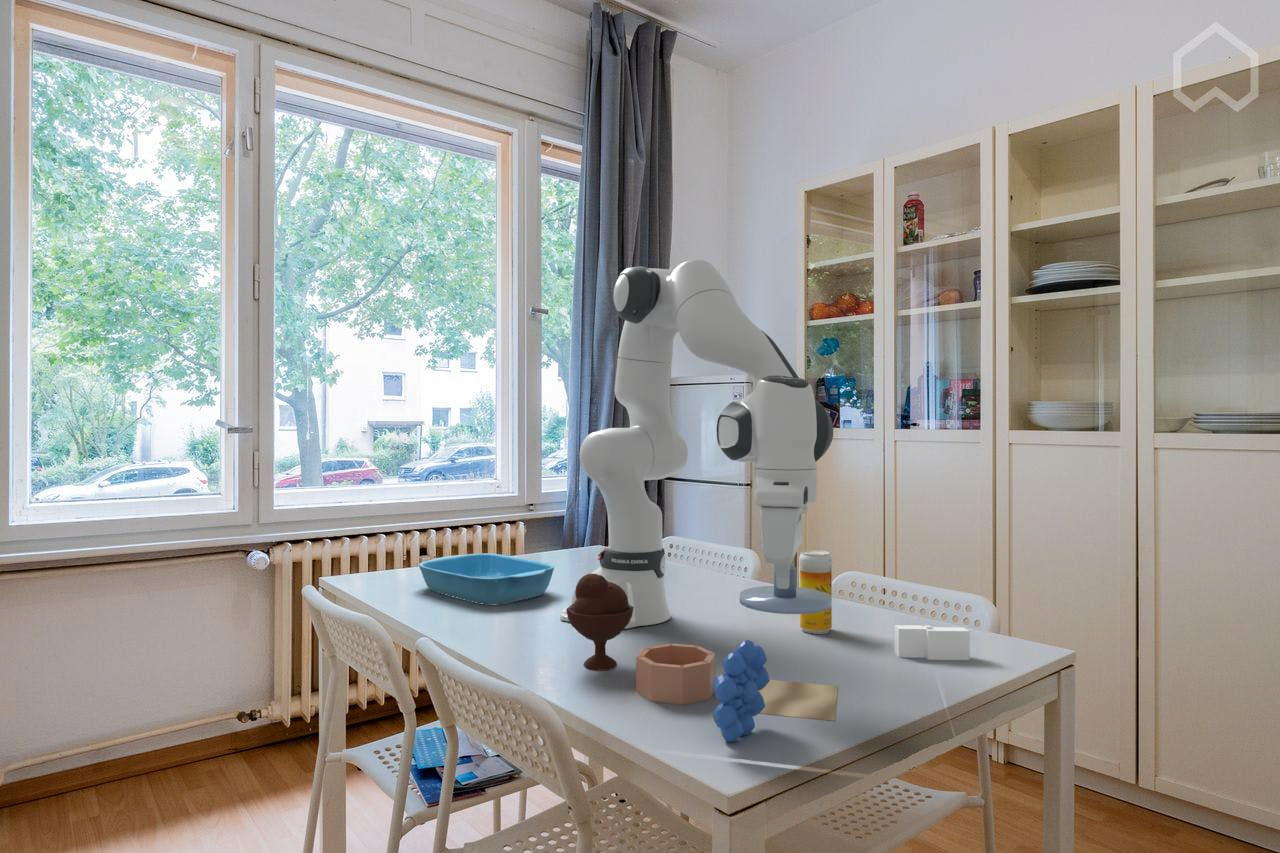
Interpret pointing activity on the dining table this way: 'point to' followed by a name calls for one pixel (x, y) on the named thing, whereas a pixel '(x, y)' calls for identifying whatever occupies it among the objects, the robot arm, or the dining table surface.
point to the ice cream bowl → (599, 616)
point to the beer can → (816, 588)
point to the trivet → (800, 700)
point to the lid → (786, 598)
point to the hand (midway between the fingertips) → (784, 584)
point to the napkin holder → (932, 642)
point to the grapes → (740, 690)
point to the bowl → (675, 673)
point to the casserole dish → (487, 577)
